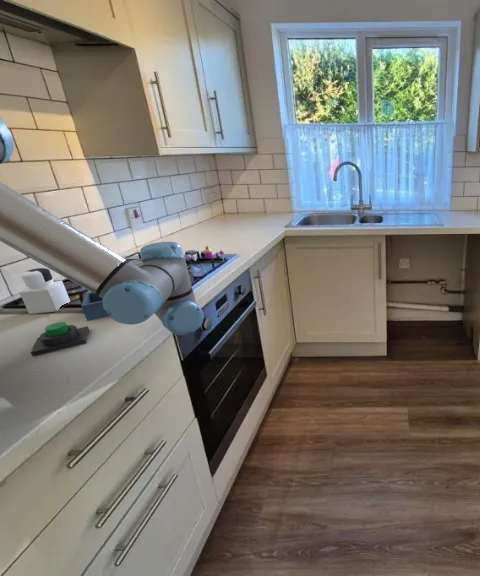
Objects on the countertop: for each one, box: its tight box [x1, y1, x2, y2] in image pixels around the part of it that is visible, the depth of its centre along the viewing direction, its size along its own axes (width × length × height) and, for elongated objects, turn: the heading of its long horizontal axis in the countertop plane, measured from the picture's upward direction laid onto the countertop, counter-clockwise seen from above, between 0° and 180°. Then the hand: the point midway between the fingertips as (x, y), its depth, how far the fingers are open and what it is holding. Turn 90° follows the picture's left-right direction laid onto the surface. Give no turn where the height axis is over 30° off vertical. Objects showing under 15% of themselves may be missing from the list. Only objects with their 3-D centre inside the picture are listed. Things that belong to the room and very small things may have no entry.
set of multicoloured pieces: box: [184, 246, 225, 262], centre depth 145 cm, size 18×8×6 cm, turn 98°
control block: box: [30, 324, 90, 357], centre depth 88 cm, size 10×8×3 cm
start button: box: [44, 321, 69, 337], centre depth 87 cm, size 4×4×2 cm
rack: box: [81, 291, 110, 322], centre depth 107 cm, size 20×10×5 cm, turn 123°
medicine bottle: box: [18, 267, 71, 315], centre depth 105 cm, size 7×7×12 cm
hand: (145, 277), depth 101 cm, fingers open, 13 cm apart
